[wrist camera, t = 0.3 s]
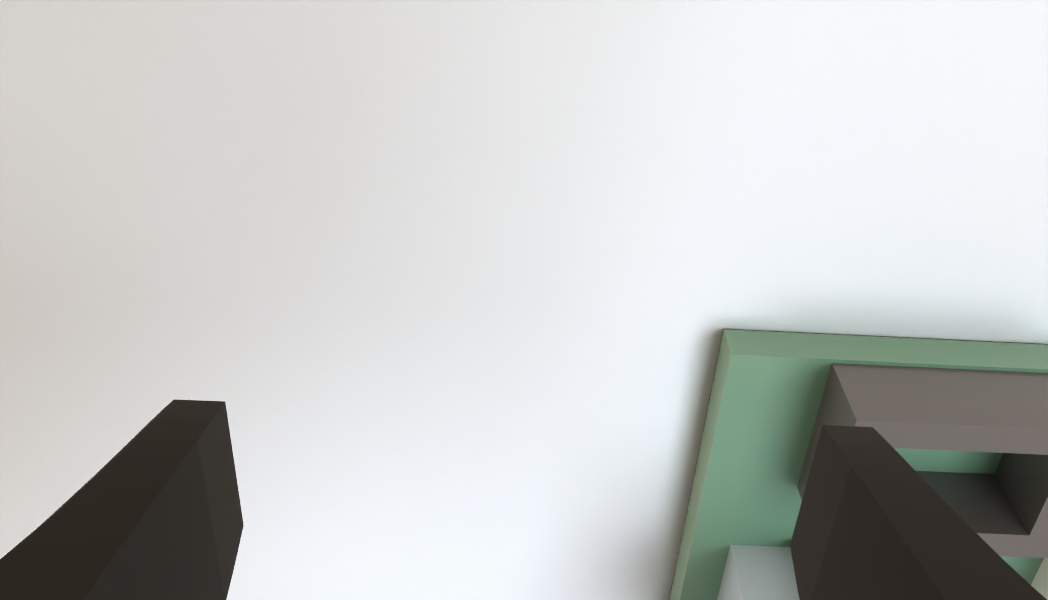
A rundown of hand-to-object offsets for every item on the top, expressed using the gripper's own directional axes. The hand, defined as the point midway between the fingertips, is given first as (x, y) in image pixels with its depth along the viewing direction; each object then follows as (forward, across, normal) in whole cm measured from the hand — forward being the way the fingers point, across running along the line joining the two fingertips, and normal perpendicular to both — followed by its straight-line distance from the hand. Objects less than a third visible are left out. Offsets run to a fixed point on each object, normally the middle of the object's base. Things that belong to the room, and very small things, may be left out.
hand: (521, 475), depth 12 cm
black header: (+9, -10, +6) cm, 15 cm away
